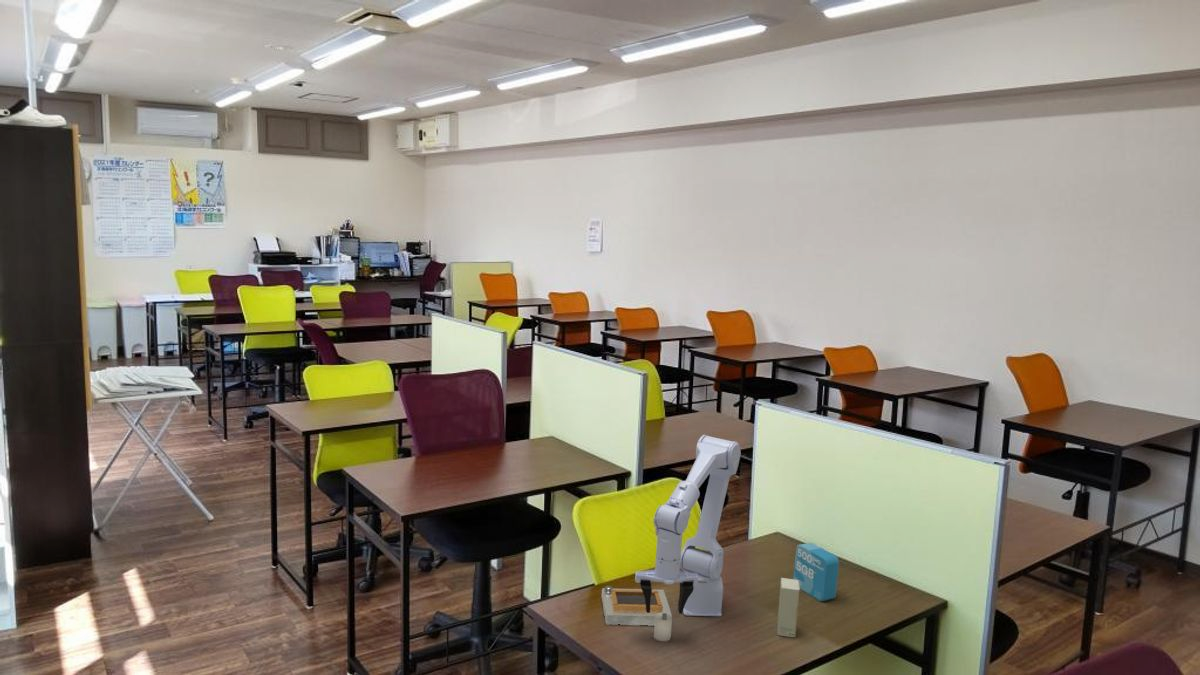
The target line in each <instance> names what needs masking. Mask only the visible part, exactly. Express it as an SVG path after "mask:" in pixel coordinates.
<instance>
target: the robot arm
mask: <svg viewBox="0 0 1200 675" xmlns="http://www.w3.org/2000/svg"><path fill="white" fill-rule="evenodd" d="M741 452H742V451H741V447H740V444H739V442H738V441H732V440H728V439H723V438H718V437H714V436H710V435H707V434H702V435H701V436H700V437H699V439H698V440H697V443H696V448H695V460H694V462H693V465H692V466H691V469H690V470H689V473H688V475H687V478H686V479H685V480H682V481H679V482H678V484H677V486H676V487H675V488H674V490H673V491H672V493H671V494H670V497H669V498H668V500H667V501H666V503H665V504H662V505H659V506H658V507H657V508H656V511H655V513H654V517H653V525H654V528H655V536H657V539H656V550H655V551H656V552H655V562H654V563H655V564H654V565H655V566H654V569H649V570H641V571H640V570H639V571H635V572H634V573H635V575H634V576H635V577H634V580H635V583H636V584H637V583H639V585H640V588H641V589H642V591H643V594H644V597H645V603H646V612H647V613H650V599H651V592H652V590H653V588H652V583H664V584H665V585H674V584H676V583H677V584H679V598H678V604H677V611H678V613H679V615H680V614H681V615H682V614H683V615H684V616H688V617H689V616H690V617H699V616H700V617H722V609H723V608H722V607H723V597H724V596H723V594H724V583H723V579H722V576H721V573H722V571H723V566H724V554H725V553H724V551H725V550H724V549H723V547H722V546H721V544H719V542H718V541H717V539H716V538H717V534H718V530H719V525H720V521H721V516H722V512H723V509H724V503H725V498H726V496H727V491H728V486H729V482H730V478H731V476H734V475H736V474H737V471H738V468H739V464H740V459H741V456H742V455H741V454H742V453H741ZM708 476H709V479H708V482H707V483H708V484H707V487H706V492H705V495H704V500H703V505H702V509H701V514H700V518H699V521H698V526H697V531H696V533H695V534H696V535H694V536H692V537H690V538H688V539H686V540H685V542H684V544H683V545H684V546H683V545H682V543H683V534H684V532H686V529H687V527H688V524H689V521H690V517H691V515H692V514H691V511H692V510H693V508H694V507H695V504H696V503H697V501H698V499H699V498H700V495H701V493H700V489H699V488H700V487H701V486H702V484H703V483H704V482H705V480H706V479H707V478H708ZM682 546H683V547H682Z"/></svg>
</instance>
